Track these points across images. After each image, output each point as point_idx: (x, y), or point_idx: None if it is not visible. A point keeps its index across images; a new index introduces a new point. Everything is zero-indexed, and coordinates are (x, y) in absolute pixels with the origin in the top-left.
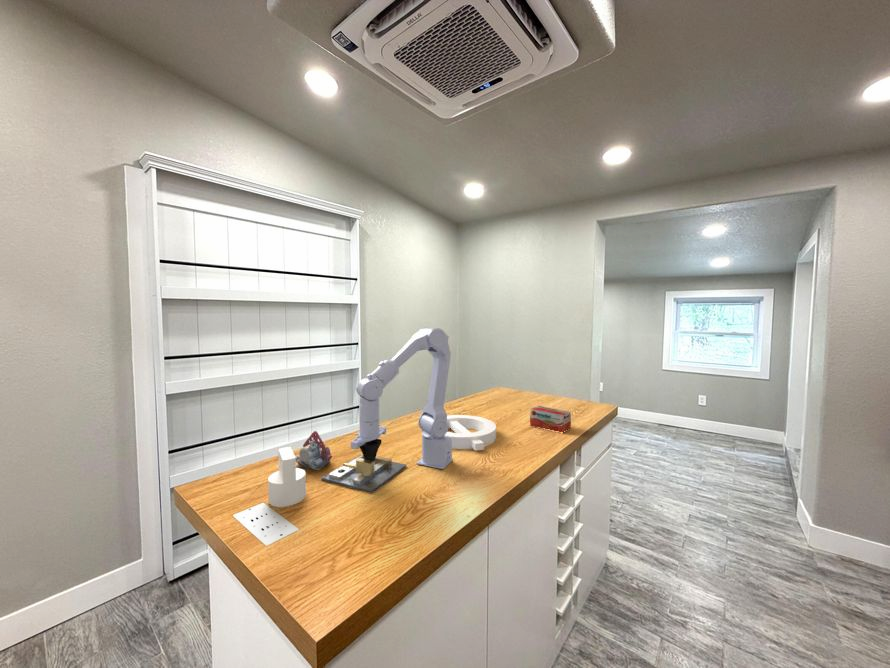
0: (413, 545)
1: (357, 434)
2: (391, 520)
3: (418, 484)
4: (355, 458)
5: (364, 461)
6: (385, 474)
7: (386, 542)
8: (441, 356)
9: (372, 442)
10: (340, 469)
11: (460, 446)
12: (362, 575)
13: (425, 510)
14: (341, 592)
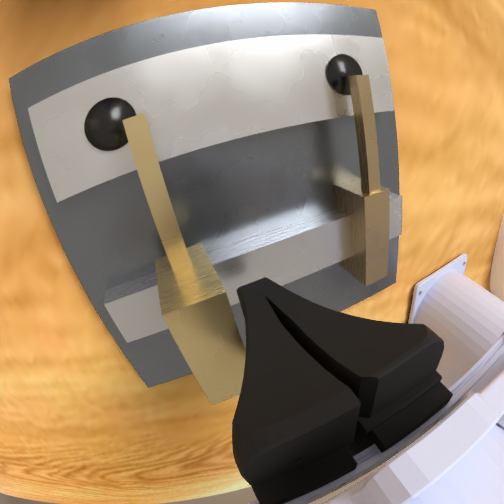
0: (128, 497)
1: (383, 496)
2: (127, 467)
3: None
4: (334, 9)
5: (206, 363)
6: None
7: (91, 485)
8: None
9: (353, 449)
10: (124, 90)
11: (495, 281)
12: (41, 491)
13: (211, 468)
14: (15, 488)
